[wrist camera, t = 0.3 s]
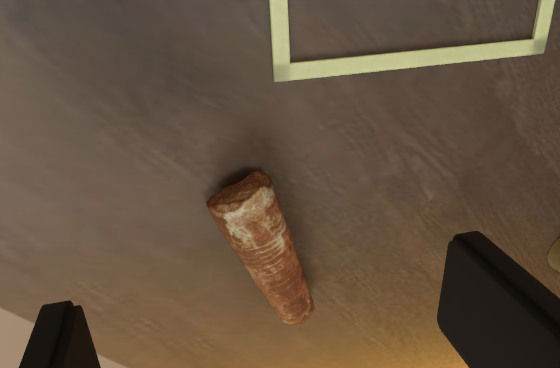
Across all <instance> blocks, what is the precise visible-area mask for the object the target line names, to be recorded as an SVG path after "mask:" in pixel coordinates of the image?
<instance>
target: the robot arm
mask: <svg viewBox="0 0 560 368" xmlns="http://www.w3.org/2000/svg"><path fill="white" fill-rule="evenodd" d="M437 321H438V325H439V327H440V329H441V331H442V332H443V334H444V335H445V336H446V338H447V339H448V340H449V342H450V343H451V344H452V346H453V347H454V348H455V349H456V351H457V352H458V353H459V355H460V356H461V357H462V359H463V360H464V361H465V363H466V364H467V365H468V367H469V368H560V299H559V298H558V297H557V296H556V295H555V294H553V293H552V292H551V291H550V290H549V289H547V288H546V287H545V286H544V285H543V284H541V283H540V282H539V281H538V280H537V279H536V278H534V277H533V276H532V275H531V274H530V273H528V272H527V271H526V270H525V269H524V268H522V267H521V266H520V265H519V264H518V263H516V262H515V261H514V260H513V259H512V258H510V257H509V256H508V255H507V254H506V253H505V252H503V251H502V250H501V249H500V248H499V247H497V246H496V245H495V244H494V243H493V242H491V241H490V240H489V239H488V238H487V237H485V236H484V235H483V234H482V233H480V232H479V231H472V232H467V233H461V234H457V235H455V236H454V238H453V240H452V241H450V242H449V244H448V249H447V256H446V262H445V269H444V275H443V282H442V288H441V294H440V301H439V307H438V314H437ZM19 368H101V367H100V364H99V361H98V357H97V354H96V351H95V348H94V344H93V341H92V338H91V334H90V331H89V328H88V325H87V321H86V318H85V315H84V312H83V309H82V307H81V306H80V305H78V306H74V305H73V303H72V302H71V301H63V302H58V303H52V304H46V305H43V306H42V307H41V309H40V312H39V315H38V317H37V320H36V323H35V326H34V328H33V331H32V334H31V336H30V339H29V342H28V344H27V347H26V350H25V352H24V355H23V358H22V361H21V363H20V366H19Z"/></svg>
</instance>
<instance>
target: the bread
mask: <svg viewBox="0 0 560 368" xmlns="http://www.w3.org/2000/svg"><path fill="white" fill-rule="evenodd" d="M207 207H208V208H209V210H210V212H211V214H212V217H213V219H214V220H215V222H216V223H217V225H218V227H219V228H220V230H221V231H222V232H223V234H224V235H225V237H226V238H227V240H228V241H229V243H230V245H231V246H232V247H233V249H234V250H235V251H236V252H237V254H238V256H239V257H240V259H241V261H242V263H243V264H244V266H245V267H246V269H247V270H248V271H249V273H250V275H251V277H252V278H253V280H254V281H255V282H256V284H257V285H258V287H259V288H260V290H261V291H262V293H263V294H264V295H265V296H266V298H267V299H268V301H269V302H270V304H271V305H272V307H273V308H274V310H275V311H276V312H277V314H278V315H279V316H280V318H281V320H282V321H283V322H284V323H285V324H287V325H292V326H293V325H299V324H302V323H304V322H305V321H306V320H307V319H308V318H309V317H310V315H311V313H312V312H313V311H314V304H313V300H312V297H311V294H310V291H309V288H308V284H307V281H306V279H305V276H304V272H303V269H302V266H301V263H300V260H299V258H298V255H297V252H296V249H295V246H294V243H293V240H292V237H291V234H290V231H289V229H288V226H287V223H286V219H285V216H284V214H283V211H282V208H281V205H280V202H279V199H278V196H277V194H276V192H275V189H274V186H273V184H272V180H271V178H270V177H269V176H268V175H267V174H265V173H263V172H252V173H250V174H249V175H248V176H247V177H246V178H245V179H244V180H242V181H240V182H239V183H236V184H234V185H230V186H228V187H225V188H223V189H222V190H220V191H219V192H217V193H216V194H214V195H213V196H211V197H210V199H209V200H208V201H207Z"/></svg>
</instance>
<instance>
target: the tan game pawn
mask: <svg viewBox="0 0 560 368" xmlns="http://www.w3.org/2000/svg"><path fill="white" fill-rule="evenodd" d="M547 261H548V264H549V266H551V267H552V268H553V269H555V270H557V271H558V272H560V237H559V238H558V239H557V240H556V241H555V242H554V243H553V245H552V246H551V248H550V250H549V252H548V256H547Z"/></svg>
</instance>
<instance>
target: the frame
mask: <svg viewBox="0 0 560 368" xmlns="http://www.w3.org/2000/svg"><path fill="white" fill-rule="evenodd" d="M554 2H555V0H539V1H538V7H537V12H536V17H535V22H534V27H533V33H532V38H531V39H523V40H513V41H503V42H493V43H483V44H473V45H463V46H453V47H443V48H433V49H423V50H412V51H402V52H392V53H382V54H372V55H362V56H352V57H342V58H332V59H322V60H312V61H301V62H291V63H290V47H289V23H288V0H269V9H270V26H271V43H272V60H273V78H274V82H281V81H290V80H299V79H309V78H318V77H328V76H337V75H346V74H356V73H365V72H374V71H384V70H393V69H403V68H412V67H421V66H431V65H440V64H450V63H459V62H468V61H478V60H487V59H497V58H506V57H515V56H525V55H534V54H543V53H544V51H545V46H546V41H547V36H548V31H549V27H550V22H551V17H552V12H553V7H554Z"/></svg>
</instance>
